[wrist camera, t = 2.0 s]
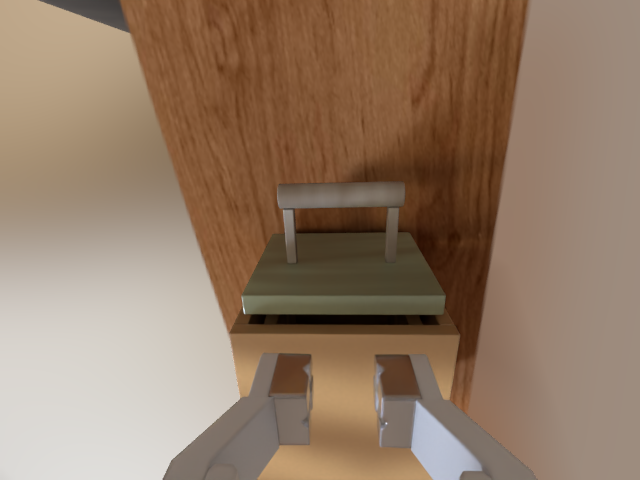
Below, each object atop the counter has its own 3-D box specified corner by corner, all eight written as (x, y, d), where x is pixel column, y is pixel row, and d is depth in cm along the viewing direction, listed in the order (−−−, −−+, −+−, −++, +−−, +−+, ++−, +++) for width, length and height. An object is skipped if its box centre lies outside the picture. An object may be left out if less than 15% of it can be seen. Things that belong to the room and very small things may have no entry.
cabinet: (269, 249, 26) (228, 333, 16) (413, 247, 25) (460, 335, 16) (283, 383, 32) (258, 506, 22) (401, 385, 31) (431, 513, 21)
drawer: (266, 169, 23) (227, 203, 15) (414, 165, 22) (459, 199, 14) (285, 368, 30) (266, 466, 22) (398, 369, 29) (422, 471, 21)
